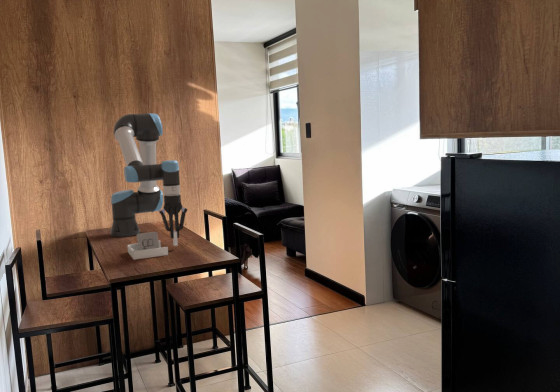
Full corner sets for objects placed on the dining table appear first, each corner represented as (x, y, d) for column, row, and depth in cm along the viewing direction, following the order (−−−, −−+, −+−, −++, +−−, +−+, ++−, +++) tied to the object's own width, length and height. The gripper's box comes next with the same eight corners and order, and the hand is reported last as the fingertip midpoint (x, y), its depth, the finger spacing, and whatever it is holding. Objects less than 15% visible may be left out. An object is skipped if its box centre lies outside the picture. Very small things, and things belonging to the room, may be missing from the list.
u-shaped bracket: (127, 252, 245) (127, 244, 244) (160, 247, 251) (160, 240, 250) (133, 259, 230) (133, 251, 230) (168, 254, 236) (167, 247, 236)
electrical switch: (138, 254, 239) (136, 234, 238) (137, 253, 244) (135, 233, 243) (159, 252, 242) (158, 232, 242) (157, 251, 247) (156, 231, 247)
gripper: (159, 196, 236) (163, 248, 240) (188, 194, 242) (191, 244, 245) (156, 194, 243) (159, 245, 247) (184, 192, 248) (187, 241, 252)
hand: (175, 245), depth 246 cm, fingers closed
